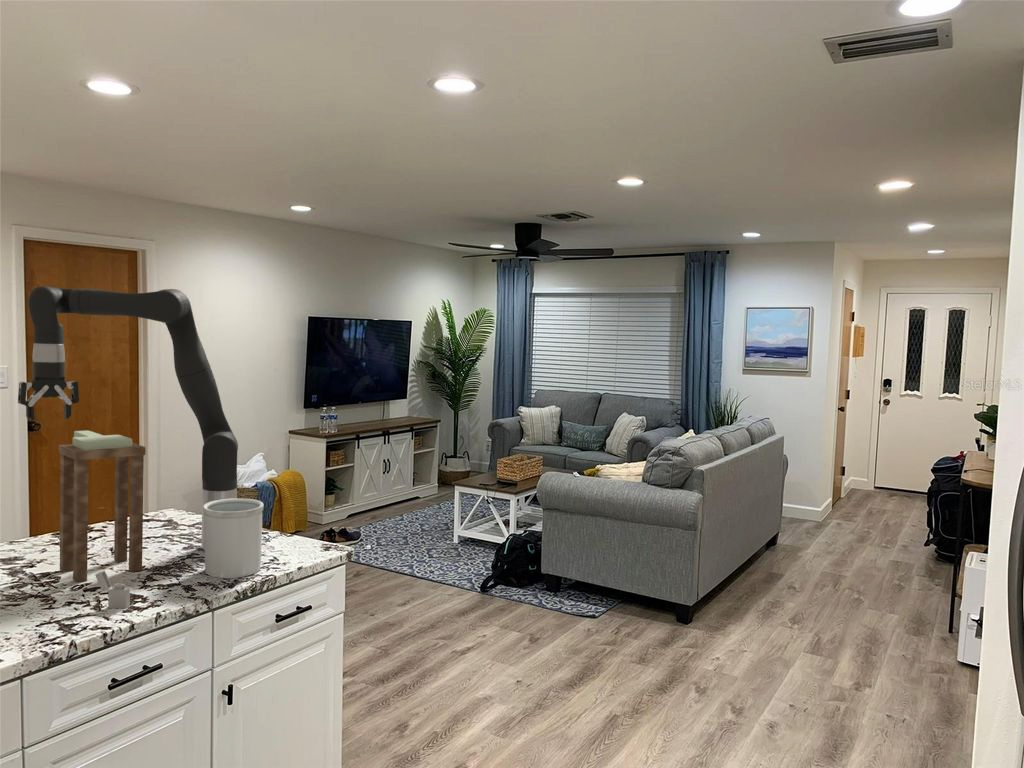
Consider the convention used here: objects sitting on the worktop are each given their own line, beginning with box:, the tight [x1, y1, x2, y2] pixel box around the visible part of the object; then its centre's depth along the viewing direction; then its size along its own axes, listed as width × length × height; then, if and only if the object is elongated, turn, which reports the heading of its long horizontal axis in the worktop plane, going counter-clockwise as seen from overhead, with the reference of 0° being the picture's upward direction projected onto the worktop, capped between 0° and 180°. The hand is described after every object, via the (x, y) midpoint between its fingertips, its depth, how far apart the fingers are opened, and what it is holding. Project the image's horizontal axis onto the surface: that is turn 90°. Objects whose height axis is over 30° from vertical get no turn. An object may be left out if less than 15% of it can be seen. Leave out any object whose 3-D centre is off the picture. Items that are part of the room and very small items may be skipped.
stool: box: [58, 442, 147, 583], centre depth 194 cm, size 16×13×32 cm
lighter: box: [95, 570, 131, 610], centre depth 171 cm, size 7×2×8 cm, turn 89°
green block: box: [72, 429, 133, 450], centre depth 197 cm, size 11×20×2 cm, turn 47°
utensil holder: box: [203, 498, 265, 579], centre depth 199 cm, size 15×15×18 cm
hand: (49, 419), depth 209 cm, fingers open, 8 cm apart
